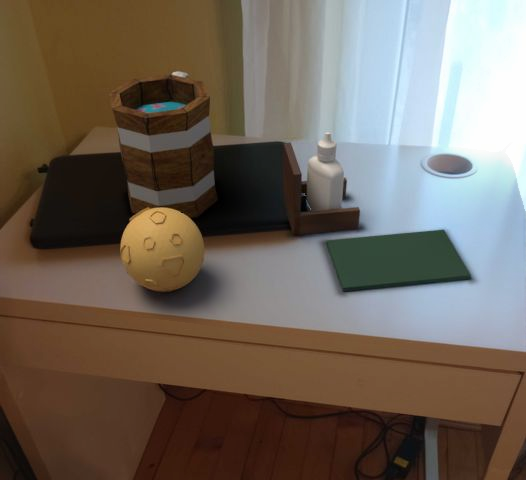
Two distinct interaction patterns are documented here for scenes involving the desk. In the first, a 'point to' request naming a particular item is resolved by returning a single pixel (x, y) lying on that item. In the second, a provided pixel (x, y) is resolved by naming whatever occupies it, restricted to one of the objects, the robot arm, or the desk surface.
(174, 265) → the stress ball
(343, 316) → the desk surface
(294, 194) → the holder
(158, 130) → the mug
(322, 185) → the eye dropper bottle
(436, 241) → the mat
